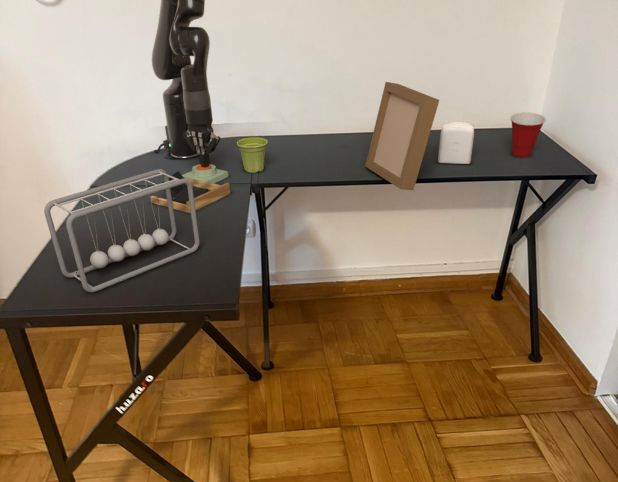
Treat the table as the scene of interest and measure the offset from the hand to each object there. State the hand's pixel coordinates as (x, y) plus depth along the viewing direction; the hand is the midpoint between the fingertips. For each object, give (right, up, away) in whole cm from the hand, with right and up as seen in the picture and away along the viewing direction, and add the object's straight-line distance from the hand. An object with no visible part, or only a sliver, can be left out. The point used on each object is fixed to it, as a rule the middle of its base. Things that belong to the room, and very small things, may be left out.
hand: (205, 166), depth 180 cm
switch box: (0, -3, +2) cm, 4 cm away
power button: (0, -2, +1) cm, 2 cm away
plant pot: (+14, +1, +8) cm, 16 cm away
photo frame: (+60, -3, +1) cm, 60 cm away
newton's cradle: (-9, -36, -43) cm, 56 cm away
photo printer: (+77, +4, +11) cm, 78 cm away
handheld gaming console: (-4, -12, -10) cm, 16 cm away
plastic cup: (+101, +8, +16) cm, 102 cm away
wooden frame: (-2, -12, -10) cm, 16 cm away
